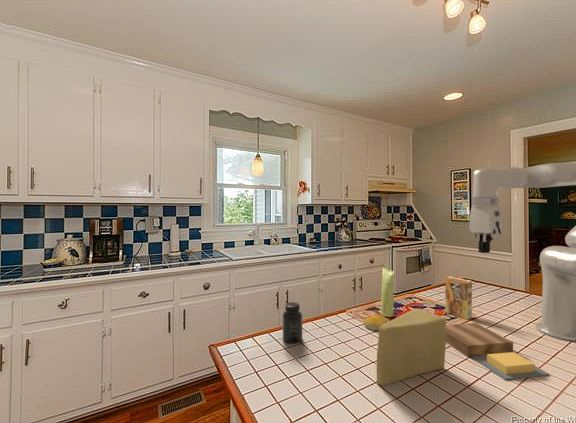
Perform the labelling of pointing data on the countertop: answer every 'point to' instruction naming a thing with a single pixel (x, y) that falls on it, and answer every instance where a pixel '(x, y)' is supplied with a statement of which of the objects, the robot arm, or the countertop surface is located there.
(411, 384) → the countertop surface
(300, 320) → the supplement bottle
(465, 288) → the candy box
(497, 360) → the yellow block
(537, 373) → the mat
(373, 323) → the bread roll
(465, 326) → the brown wooden block
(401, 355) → the cheese
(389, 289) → the tube
